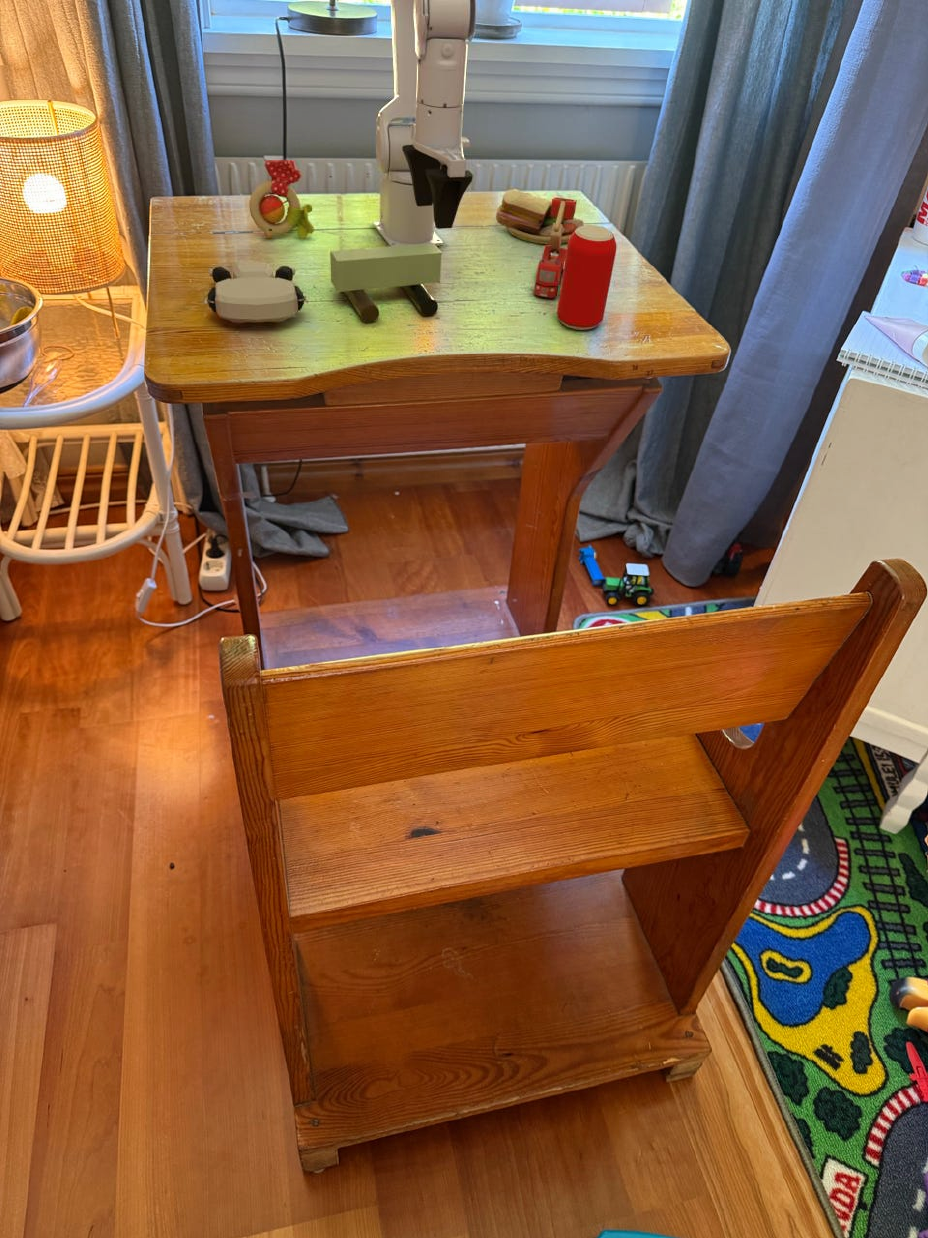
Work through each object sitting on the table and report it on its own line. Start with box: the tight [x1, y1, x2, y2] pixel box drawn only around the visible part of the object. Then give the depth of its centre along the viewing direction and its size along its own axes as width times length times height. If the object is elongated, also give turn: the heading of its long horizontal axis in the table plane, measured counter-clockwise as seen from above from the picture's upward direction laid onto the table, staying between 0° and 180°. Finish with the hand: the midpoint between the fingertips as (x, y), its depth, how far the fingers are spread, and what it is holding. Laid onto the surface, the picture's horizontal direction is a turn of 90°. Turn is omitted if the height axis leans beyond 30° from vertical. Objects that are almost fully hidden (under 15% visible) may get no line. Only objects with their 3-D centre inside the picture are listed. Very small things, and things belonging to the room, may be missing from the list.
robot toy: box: [204, 260, 309, 324], centre depth 116 cm, size 12×4×15 cm
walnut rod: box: [343, 289, 380, 324], centre depth 120 cm, size 12×2×2 cm, turn 22°
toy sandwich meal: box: [495, 188, 585, 246], centre depth 142 cm, size 12×14×5 cm
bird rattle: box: [249, 158, 315, 240], centre depth 131 cm, size 6×11×9 cm
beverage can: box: [556, 224, 618, 331], centre depth 117 cm, size 6×6×12 cm
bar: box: [329, 243, 442, 293], centre depth 119 cm, size 14×3×4 cm, turn 112°
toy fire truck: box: [533, 196, 578, 299], centre depth 127 cm, size 3×14×10 cm, turn 168°
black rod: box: [400, 284, 439, 318], centre depth 123 cm, size 12×2×2 cm, turn 22°
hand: (433, 215), depth 120 cm, fingers open, 7 cm apart
